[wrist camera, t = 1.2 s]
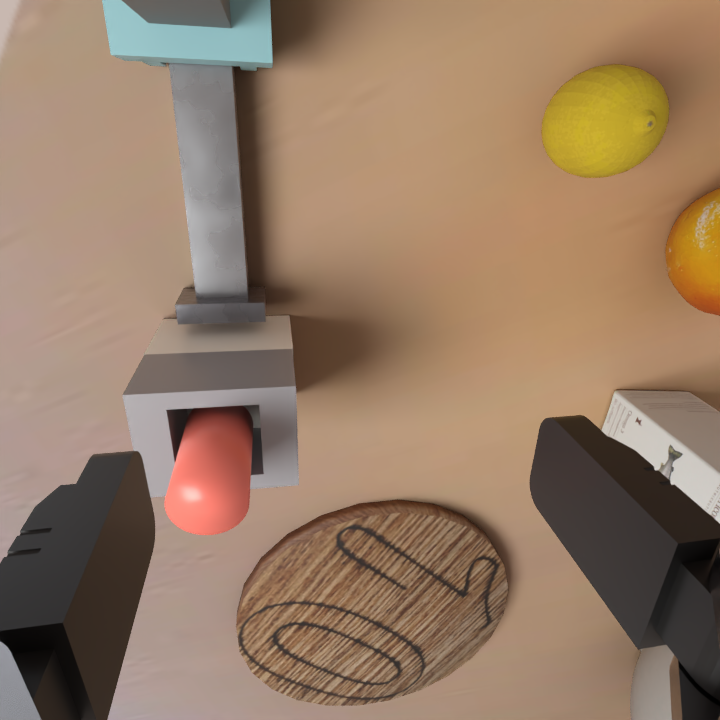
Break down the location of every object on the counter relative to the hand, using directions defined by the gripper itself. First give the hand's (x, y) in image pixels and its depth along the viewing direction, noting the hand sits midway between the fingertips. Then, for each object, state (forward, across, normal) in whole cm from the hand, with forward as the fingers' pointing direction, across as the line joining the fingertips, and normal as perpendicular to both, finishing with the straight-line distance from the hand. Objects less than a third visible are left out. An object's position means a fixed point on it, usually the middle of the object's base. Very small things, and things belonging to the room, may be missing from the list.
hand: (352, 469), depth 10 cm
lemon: (+23, -17, -7) cm, 30 cm away
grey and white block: (+23, +5, +8) cm, 25 cm away
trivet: (+24, -6, +34) cm, 42 cm away
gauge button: (+15, +5, +8) cm, 18 cm away
